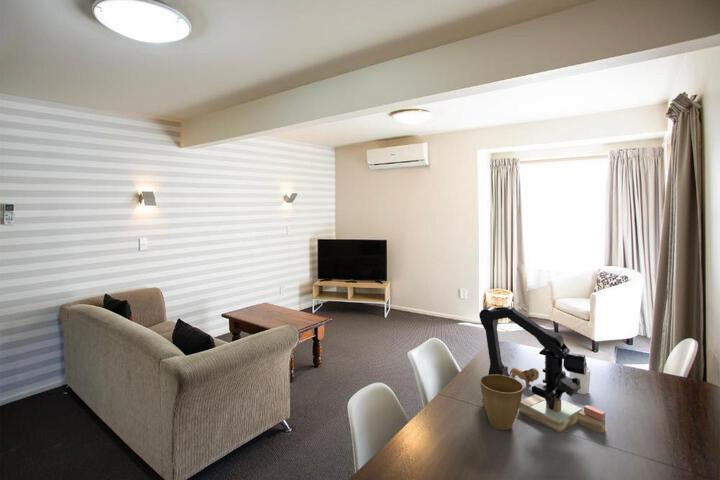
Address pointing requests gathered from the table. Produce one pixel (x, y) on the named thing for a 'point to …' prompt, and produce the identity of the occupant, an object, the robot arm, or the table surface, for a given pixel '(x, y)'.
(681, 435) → the table surface
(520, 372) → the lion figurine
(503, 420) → the plant pot
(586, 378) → the white cup
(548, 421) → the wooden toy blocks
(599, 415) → the block
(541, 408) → the lid
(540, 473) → the table surface
